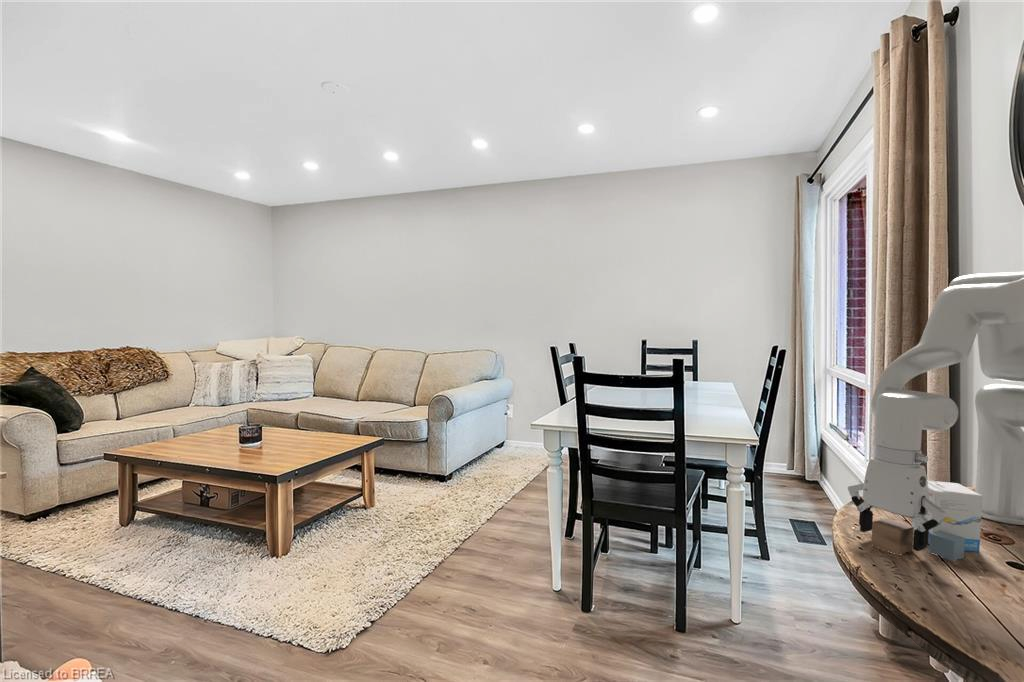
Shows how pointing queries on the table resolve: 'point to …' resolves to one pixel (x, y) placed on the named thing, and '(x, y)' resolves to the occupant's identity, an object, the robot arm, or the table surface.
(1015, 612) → the table surface
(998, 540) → the table surface
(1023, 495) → the robot arm
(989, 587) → the table surface
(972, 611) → the table surface
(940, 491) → the ink box
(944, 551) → the slate block
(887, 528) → the walnut block
